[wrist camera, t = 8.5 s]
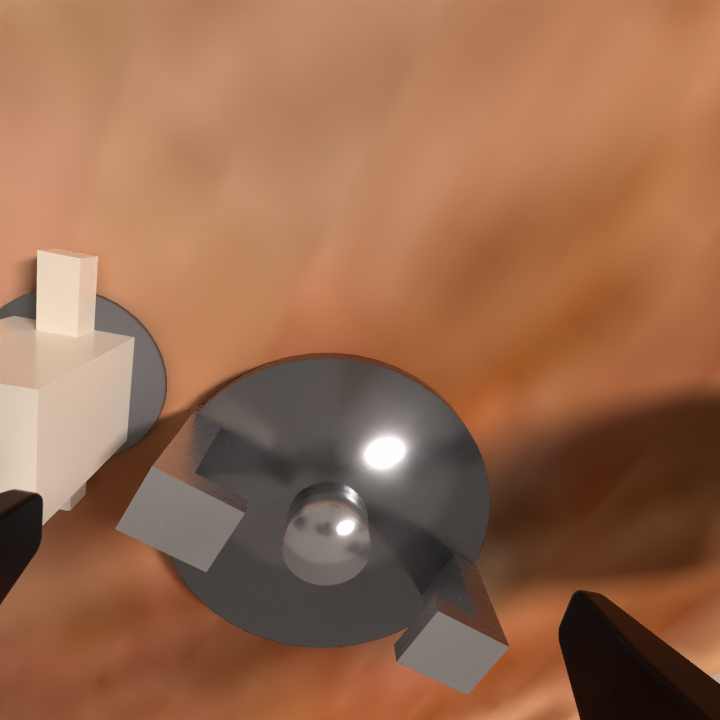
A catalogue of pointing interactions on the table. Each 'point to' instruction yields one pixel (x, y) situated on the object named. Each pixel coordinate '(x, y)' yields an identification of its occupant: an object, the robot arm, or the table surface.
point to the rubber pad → (146, 360)
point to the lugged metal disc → (331, 513)
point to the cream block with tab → (61, 386)
